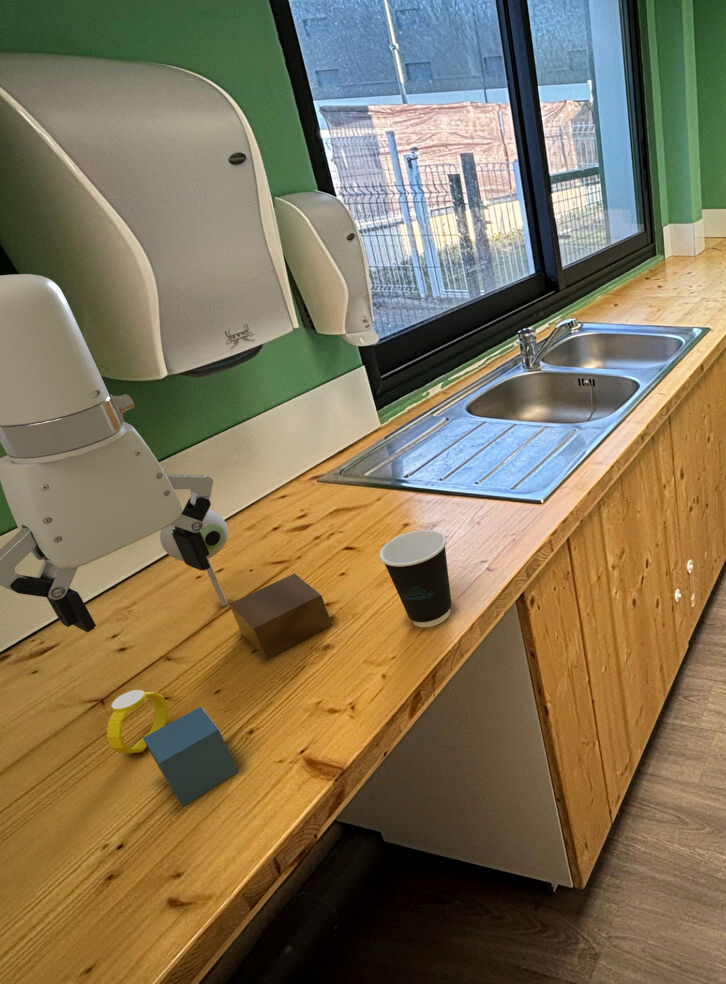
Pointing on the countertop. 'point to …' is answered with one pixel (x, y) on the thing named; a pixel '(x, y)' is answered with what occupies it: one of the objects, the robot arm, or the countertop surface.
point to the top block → (191, 755)
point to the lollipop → (213, 538)
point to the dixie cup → (420, 575)
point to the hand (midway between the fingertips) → (144, 594)
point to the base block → (280, 615)
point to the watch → (130, 703)
